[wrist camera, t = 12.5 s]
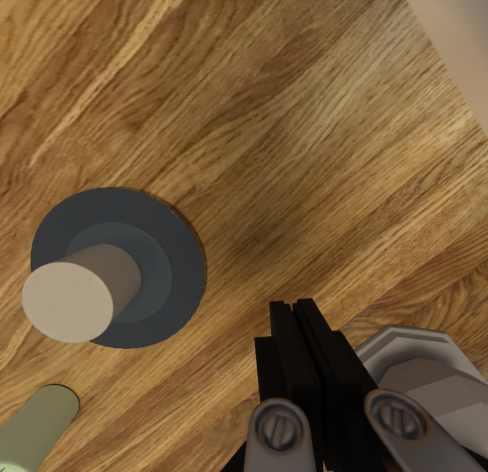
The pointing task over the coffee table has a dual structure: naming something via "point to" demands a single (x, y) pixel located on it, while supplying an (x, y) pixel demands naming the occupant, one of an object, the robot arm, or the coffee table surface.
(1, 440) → the candle
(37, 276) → the short beige cylinder
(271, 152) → the coffee table surface
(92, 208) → the plate
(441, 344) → the grey faceted model
